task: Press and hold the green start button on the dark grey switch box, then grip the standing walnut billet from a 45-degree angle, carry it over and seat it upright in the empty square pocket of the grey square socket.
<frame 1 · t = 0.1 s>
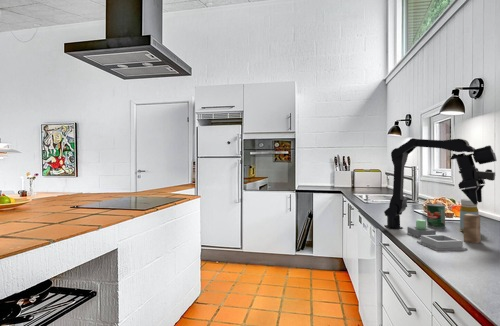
hand: (478, 203, 126), 15 cm above the countertop, tool pointing down, fingers open, 9 cm apart
switch box: (421, 235, 136), on the countertop
billet: (472, 241, 125), on the countertop
canned tomato: (436, 226, 154), on the countertop
start button: (421, 225, 136), point 4 cm above the countertop, slide at 0.0 cm
grey square socket: (441, 245, 119), on the countertop
bottle: (469, 232, 141), on the countertop
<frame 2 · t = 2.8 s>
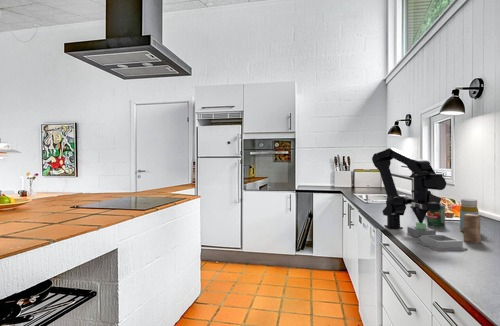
hand: (420, 222, 136), 6 cm above the countertop, tool pointing down, fingers closed, pressing on start button
start button: (421, 227, 136), point 3 cm above the countertop, slide at -1.0 cm, touching gripper
everything else where it was.
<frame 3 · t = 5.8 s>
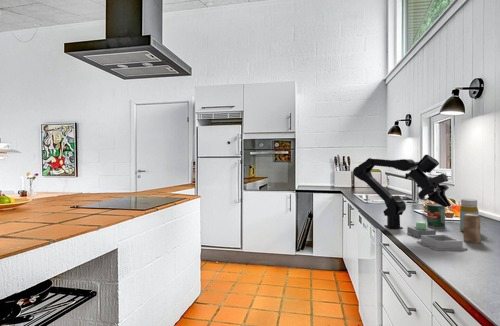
hand: (448, 206, 131), 14 cm above the countertop, tool tilted 45°, fingers open, 3 cm apart
start button: (421, 227, 136), point 3 cm above the countertop, slide at -1.0 cm
everything else where it was.
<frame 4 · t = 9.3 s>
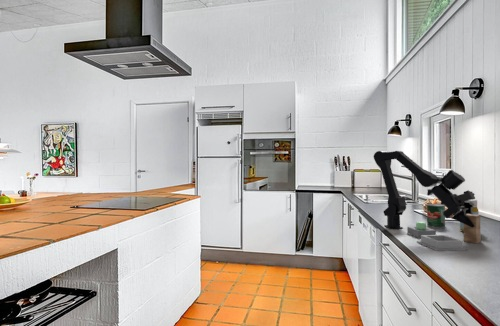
hand: (476, 226, 123), 7 cm above the countertop, tool tilted 45°, fingers closed on billet, 4 cm apart
billet: (472, 241, 125), on the countertop, touching gripper
everything else where it was.
when the fingers open (8 cm above the countertop, at t = 13.9 s): billet drops 1 cm, resting on grey square socket.
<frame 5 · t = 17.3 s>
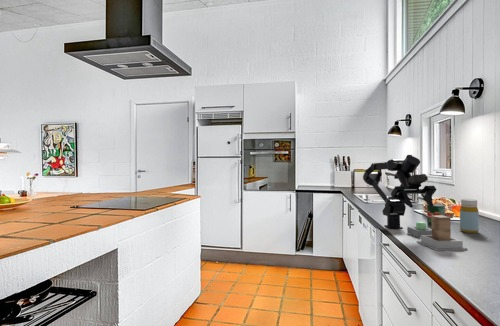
hand: (422, 206, 130), 14 cm above the countertop, tool tilted 45°, fingers open, 9 cm apart
billet: (441, 244, 119), point 1 cm above the countertop, touching grey square socket
everything else where it was.
at the end: billet 0.0 cm off-centre on the grey square socket, point 0.6 cm above the grey square socket's base; billet tilted 0°; the gripper is holding nothing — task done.
